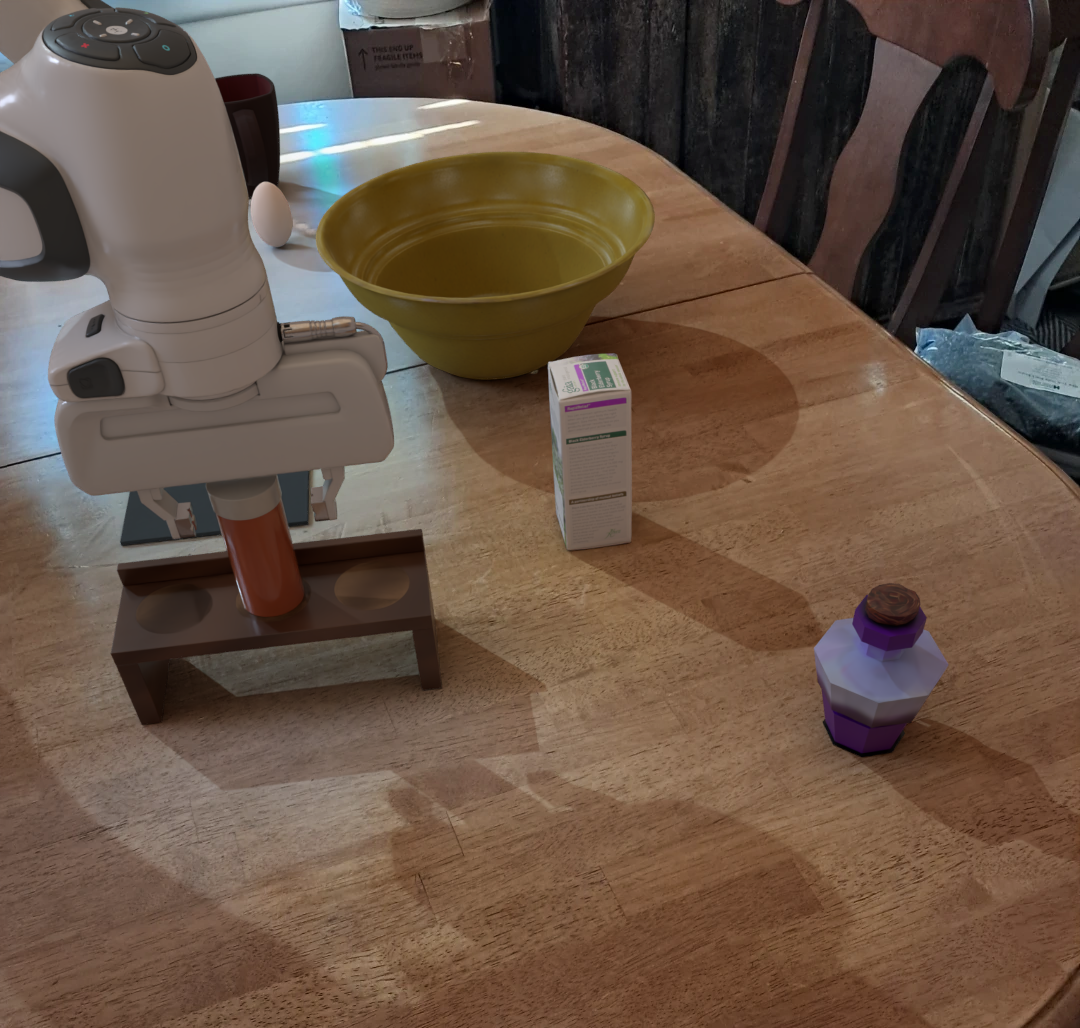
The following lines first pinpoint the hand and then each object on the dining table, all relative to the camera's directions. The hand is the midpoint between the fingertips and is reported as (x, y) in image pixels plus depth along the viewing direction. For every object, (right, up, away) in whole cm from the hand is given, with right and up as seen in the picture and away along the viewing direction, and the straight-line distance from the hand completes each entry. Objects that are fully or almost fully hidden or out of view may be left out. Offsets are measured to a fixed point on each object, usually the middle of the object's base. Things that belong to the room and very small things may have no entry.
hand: (256, 524), depth 77 cm
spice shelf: (0, -9, +10) cm, 14 cm away
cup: (-17, +55, +71) cm, 91 cm away
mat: (-10, +8, +26) cm, 29 cm away
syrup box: (+23, +3, +20) cm, 31 cm away
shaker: (0, -4, +5) cm, 6 cm away
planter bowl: (+14, +25, +42) cm, 51 cm away
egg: (-12, +43, +60) cm, 75 cm away
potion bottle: (+42, -14, +3) cm, 44 cm away
